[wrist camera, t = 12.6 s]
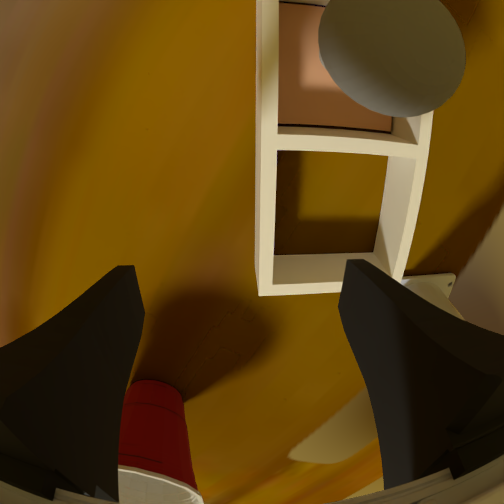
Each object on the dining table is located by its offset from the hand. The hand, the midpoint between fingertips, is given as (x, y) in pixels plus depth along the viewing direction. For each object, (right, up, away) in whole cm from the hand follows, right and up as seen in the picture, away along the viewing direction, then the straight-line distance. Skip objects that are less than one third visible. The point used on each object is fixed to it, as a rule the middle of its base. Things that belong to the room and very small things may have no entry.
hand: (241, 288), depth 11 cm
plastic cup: (-10, -13, +19) cm, 25 cm away
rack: (+5, +12, +5) cm, 14 cm away
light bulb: (+5, +13, +5) cm, 15 cm away
